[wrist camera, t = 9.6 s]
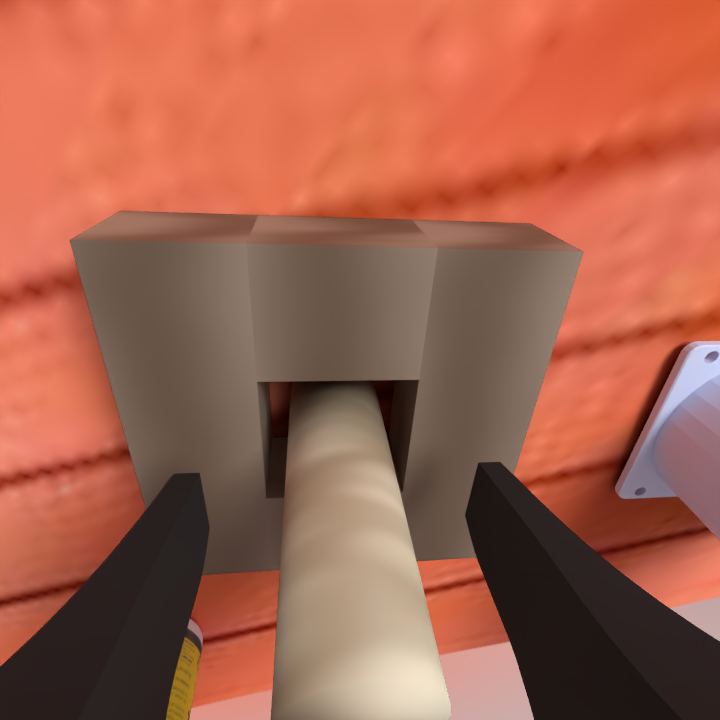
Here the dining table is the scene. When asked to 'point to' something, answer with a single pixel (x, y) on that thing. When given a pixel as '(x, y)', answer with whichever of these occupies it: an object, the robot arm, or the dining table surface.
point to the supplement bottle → (186, 674)
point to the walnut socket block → (321, 352)
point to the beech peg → (349, 571)
